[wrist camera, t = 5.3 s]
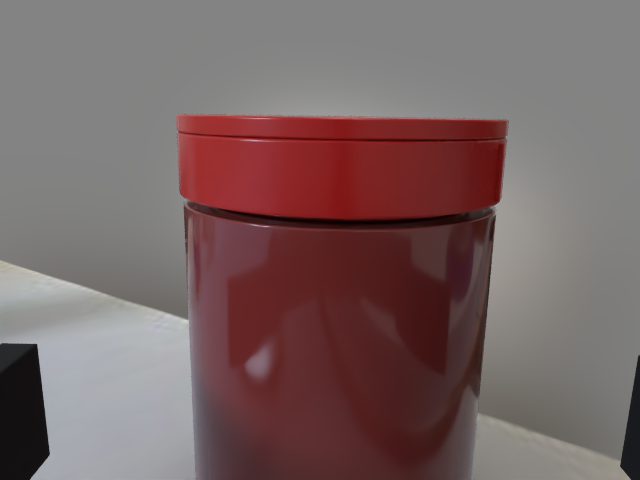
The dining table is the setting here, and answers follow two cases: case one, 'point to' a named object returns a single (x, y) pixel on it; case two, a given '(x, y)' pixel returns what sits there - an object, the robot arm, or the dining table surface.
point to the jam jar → (336, 344)
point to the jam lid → (341, 165)
